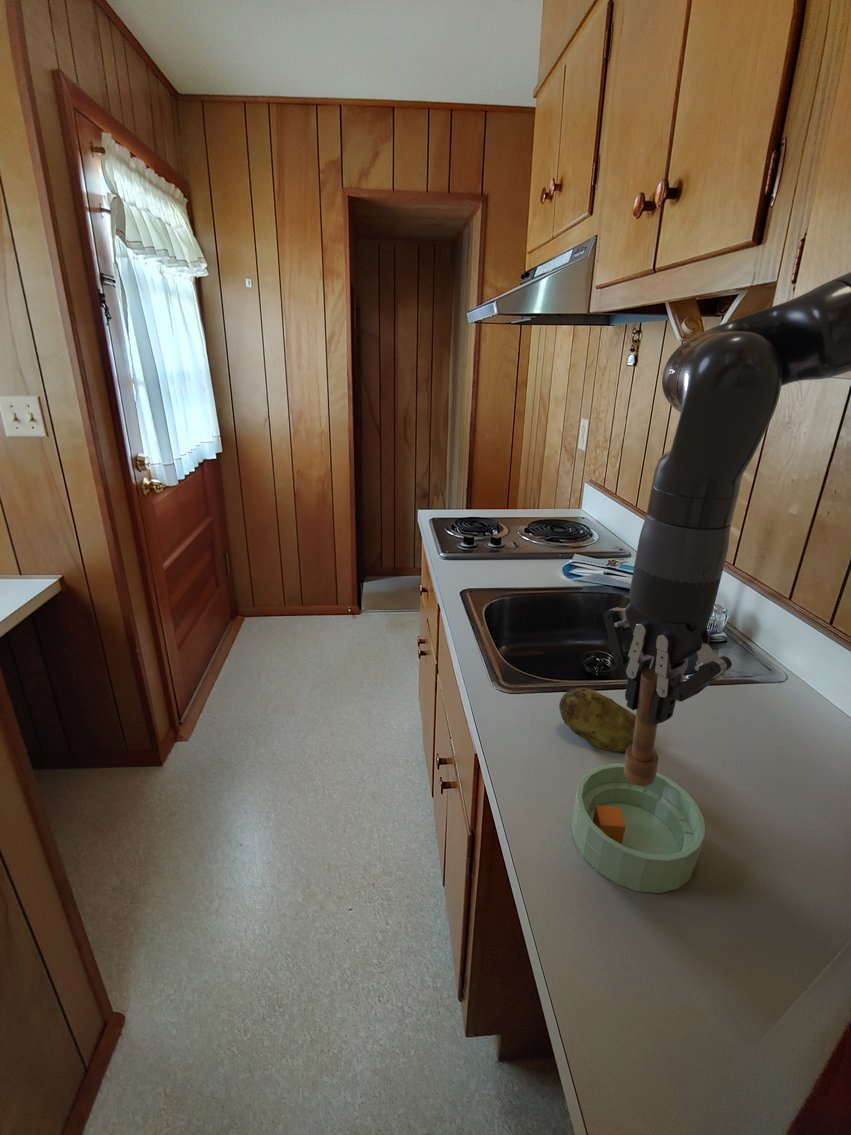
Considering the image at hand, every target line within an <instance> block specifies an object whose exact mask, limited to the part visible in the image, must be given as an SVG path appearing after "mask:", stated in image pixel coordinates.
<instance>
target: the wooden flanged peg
mask: <svg viewBox="0 0 851 1135" xmlns="http://www.w3.org/2000/svg"><path fill="white" fill-rule="evenodd" d="M657 678H658V674H656V673H655V668H651V669H645V670H643V671H642V672H641V678H640V686H639V695H638V703H637V709H636V710H635V711H636V712H635V715H636V720H635V728H634V736H633V744H632V745H630V746H629V747H628V748H627V749H626V752H625V755H624V756H625V757H624V763H623V764H624V775H625V777H626V778H627V779H628V780H629V781H630V782H632V783H634V784H636V785H640V786H647V785H650V784H652V783H653V782H654V781H655V779H656V772H657V773H658V766H659V754H658V752H657V751H656V750H655V745H656V744H655V743H656V738H657V729H658V724H657V725H654V724H653V723H651V722H650V721H649V715H650V710H651V706H652V701H653V697H654V693H655V692H657V691H656V687H657Z"/></svg>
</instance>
